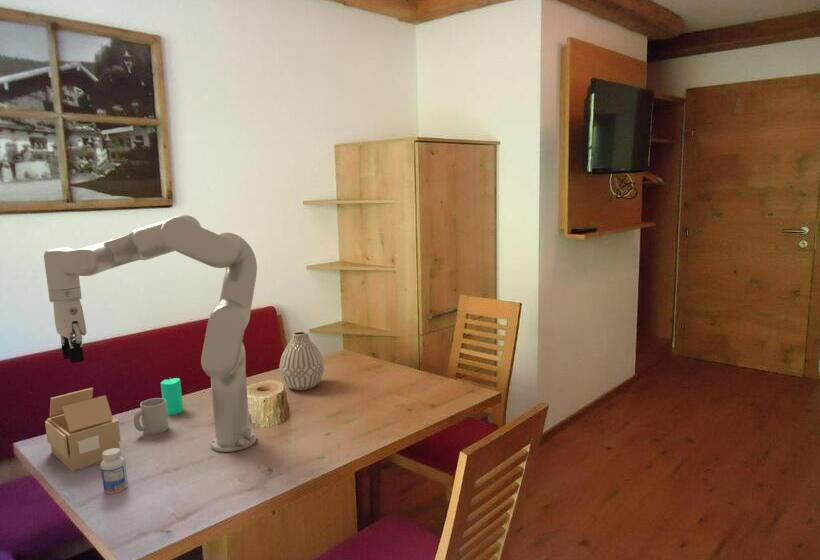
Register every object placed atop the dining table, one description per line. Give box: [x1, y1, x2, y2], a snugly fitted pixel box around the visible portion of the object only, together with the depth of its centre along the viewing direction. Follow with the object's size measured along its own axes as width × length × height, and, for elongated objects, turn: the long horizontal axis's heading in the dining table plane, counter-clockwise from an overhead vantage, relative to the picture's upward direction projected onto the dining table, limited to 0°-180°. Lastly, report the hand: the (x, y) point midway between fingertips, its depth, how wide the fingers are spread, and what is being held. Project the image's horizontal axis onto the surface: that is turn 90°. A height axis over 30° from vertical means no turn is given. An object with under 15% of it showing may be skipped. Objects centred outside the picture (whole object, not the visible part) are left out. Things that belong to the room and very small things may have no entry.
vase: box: [278, 330, 325, 391], centre depth 218 cm, size 16×16×20 cm
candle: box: [160, 377, 184, 416], centre depth 199 cm, size 6×6×12 cm
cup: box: [133, 397, 169, 436], centre depth 183 cm, size 7×10×9 cm
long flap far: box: [49, 387, 94, 418], centre depth 172 cm, size 1×11×7 cm, turn 137°
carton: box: [44, 413, 122, 472], centre depth 169 cm, size 18×14×10 cm
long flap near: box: [63, 395, 114, 432], centre depth 163 cm, size 1×11×7 cm, turn 136°
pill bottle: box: [100, 448, 129, 494], centre depth 149 cm, size 6×5×10 cm
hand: (73, 359), depth 165 cm, fingers open, 5 cm apart
